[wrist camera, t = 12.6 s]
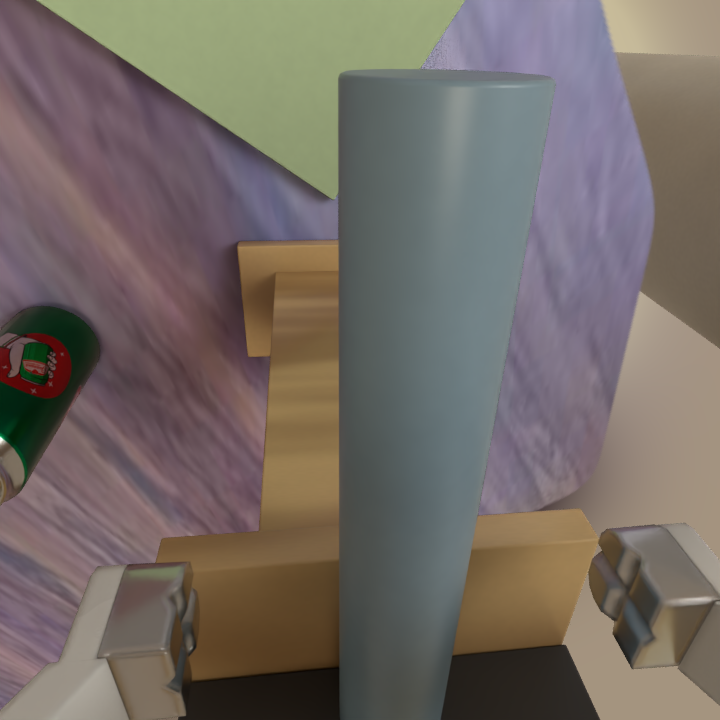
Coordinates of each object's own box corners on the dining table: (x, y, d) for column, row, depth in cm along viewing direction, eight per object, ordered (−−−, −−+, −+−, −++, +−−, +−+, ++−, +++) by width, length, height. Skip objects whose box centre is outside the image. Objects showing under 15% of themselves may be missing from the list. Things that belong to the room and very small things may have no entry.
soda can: (42, 386, 33) (-68, 539, 23) (-9, 316, 31) (-158, 454, 20) (118, 362, 33) (41, 507, 23) (74, 290, 31) (-36, 417, 20)
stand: (238, 240, 30) (151, 574, 11) (413, 238, 31) (600, 539, 12) (248, 349, 34) (196, 740, 15) (406, 343, 35) (542, 702, 16)
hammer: (18, 62, 7) (-159, 77, 4) (770, 74, 8) (1016, 91, 5) (199, 741, 15) (180, 887, 12) (544, 702, 16) (593, 829, 13)
